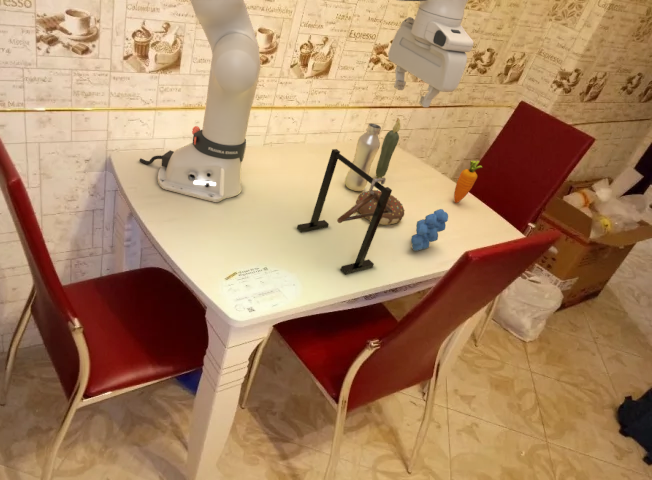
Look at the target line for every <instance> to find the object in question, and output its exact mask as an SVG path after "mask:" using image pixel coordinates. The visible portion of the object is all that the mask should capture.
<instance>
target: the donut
mask: <svg viewBox="0 0 652 480" xmlns="http://www.w3.org/2000/svg"><path fill="white" fill-rule="evenodd" d="M372 191H373V192H375V193H377V194H378V195H379V196H381V193H382V192H381V191H380V190H378V189H377V190H376V189H373V190H372ZM370 194H371V193H370V192H369V190H367V191H361V192H360V193H359V194H358V197H357V199H356V201H355V203H356V204H358V203H359V202H360V201H362V200H363V199H364V198H366V197H367V196H368V195H370ZM377 203H378V202H377V201H376V200H375V199H374V198H373V199H372V200H371V201H369V202H368V203H367V204H365V205H364V206H363V207H361V208H360V209H359V210H358V211H357V212H358V213H360V215H362V214H367V213H373V212H374V211H375V209H376V206H377ZM356 204H355V205H356ZM387 205H388V206H389V207H390V208H391V209H392V210H393V212H392V213H391V214H390V213H386V214H383V215H382V217H381V220H380V222H379V225H384V226H385V225H387V226H388V225H393V224H398V223H400V222H401V221H402V220H403V218H404V216H405V211H406V210H405V208H404V206H403V203H402V202H401V201H400V200H399V199H398V198H397V197H395V196H394V195H392V194H390V197H389V199H388V202H387ZM365 219H366V220H368V221H369V222H371V219H372V216H370V217H365Z"/></svg>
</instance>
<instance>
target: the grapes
mask: <svg viewBox="0 0 652 480" xmlns="http://www.w3.org/2000/svg"><path fill="white" fill-rule="evenodd" d="M448 221H449V214H448V213H447V211H445V210H444V209H443V208H439V209H436V210H434V211H433V213H430V214H427V215H425V217H424V219H420V220H418V221H416V223H415V225H416V228H415V232H416V234H413V235H411V238H410V242H411V248H412V251H414V252H417V251H420V250H427V249H429V248H430V243H434V242H436V241H438V239H439V233H440V232H443V231H445V230H446V223H447V222H448Z"/></svg>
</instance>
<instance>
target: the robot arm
mask: <svg viewBox="0 0 652 480" xmlns="http://www.w3.org/2000/svg"><path fill="white" fill-rule="evenodd" d="M189 1H190V4H191V6H192V9H193V11H194V14H195V16H196V18H197V20H198V21H199V23H200V26H201V28H202V30H203V33H204V34H205V37H206V39H207V42H208V44H209V46H210V47H209V48H210V50H211V55H212V56H211V61H210V69H209V76H208V85H207V92H206V100H205V106H204V107H205V108H204V115H203V123H202V129H201V128H200V127H199V126H198V125H196V126H193V127H192V130H191V133H192V135H193V136H192V142H191V143H189V144H186V145H184V146H182V147H179V148H177V149H176V150H174V151H173V150H168V151H167V152H166V153H163V155H154V156H152V157H151V158H150V159H149V160H145V159H144V158H141V157H140V158H139V163H142V164H145V165H151V164H153V163H154V162H155V161H156V160H161V166H160V168H159V170H158V172H157V184H158V185H159V187H160V188H161V189H162V190H166V191H170V192H174V193H177V194H181V195H186V196H190V197H192V198H193V197H194V198H198V199H201V200H204V201H205V200H206V201H209V202H214V203H219V202H222V201H224V200H225V199H230V198H234V197H236V196H238V195H239V194H240V193H241V192H242V190H243V188H242V187H243V186H242V162H243V160H244V158H245V153H246V148H247V139H246V137H247V131H248V126H249V120H250V115H251V111H252V107H253V102H254V100H255V95H256V91H257V86H258V83H259V78H260V73H261V68H262V67H261V55H260V46H259V43H258V39H257V36H256V34H255V33H256V32H255V29H254V26H253V24H252V20H251V18H250V15H249V12H248V9H247V7H246V6H247V5H246V3H245V1H244V0H189ZM397 1H399V2H419V6H418V9H417V12H416V14H415V18H414V17H411V16H408V17H406V18H405V19H404V20H402V21H401V24H400V27H399V28H398V29H397V31H396V33H395V35H394V37H393V39H392V42H391V44H390V47H389V50H388V53H387V57H388V59H387V60H388V61H390V62H391V63H393V64H394V65H396V67H395V82H394V84H393V87H394V89H396V90H397V91H404V89H405V87H406V84H407V82H406V81H405V74H406V73H409V74H411V75H412V76H414V77H416V78H417V79H419V80H421V81H423V82H424V83H425V84H426V85H428V87H427V91H428V92H427V93H426V94H425V95H420V96H421V97H420V100H419V102H418V104H419V105H420V106H421V107H423V108H429V107H430V106H431V103H432V100H433V99H435V97H437V96H438V95H439V94H440V93H453V92H455V90H456V89H457V88H458V86H459V84H460V82H461V80H462V77H463V75H464V71H465V70H466V66H467V63H468V56H467V53H470V52H471V51H472V49H473V47H474V40H473V39H472V38H471V37H470V35H469V34H468V33H467V32H466V30H465V28H464V27H463V25H462V22H463V19H464V16H465V9H466V5H467V3H468V2H469V0H397Z"/></svg>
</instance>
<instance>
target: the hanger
mask: <svg viewBox="0 0 652 480" xmlns="http://www.w3.org/2000/svg"><path fill="white" fill-rule="evenodd" d="M375 182H379V183H380V184H381V185H383V186H384V184H385V182H386V177H382V178H377V177H376V178H373V180H372V183H371V184H370V186H369V188H368V191H369V192H370V193H371V194H370V195H368V196H367V197H366V198H364V199H363V200H362V201H360V202H359V203H358V204H354V205H353V206H352V207H351V208H350V209H348V210H347V211H345V212H344V213H343V214H341V215H340V216H339V217H338V218H337V219H336V221H337V223H338V224H341V223H344V222H350V221H353V220H359V219H364V218H365V217H370V216H373V214H374V212H373V213H367V214H356V215H353V214H355V213H357V212H359V211H358V210H359V209H360V208H361V207H363V206H364V205H365V204H367V203H368V202H369V201H371V200H372V199H373V198H374V199H375V200H376V201H377V202H378V201H379V198H380V196H379V195H378V194H377V193H375V192H373V191H372V190H374V188H375V187H374V184H375ZM392 212H393V210H392V209H391V208H390V207H389V206H388V205H386V207H385V210H384V212H383V214H386V213H390V214H391V213H392ZM365 219H366V218H365Z"/></svg>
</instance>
